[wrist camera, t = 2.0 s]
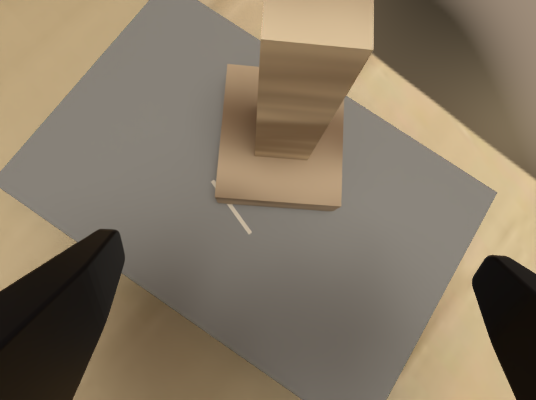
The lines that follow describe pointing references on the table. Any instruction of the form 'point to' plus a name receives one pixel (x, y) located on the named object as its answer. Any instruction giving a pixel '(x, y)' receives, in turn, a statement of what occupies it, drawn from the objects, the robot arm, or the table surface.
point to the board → (250, 211)
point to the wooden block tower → (293, 106)
